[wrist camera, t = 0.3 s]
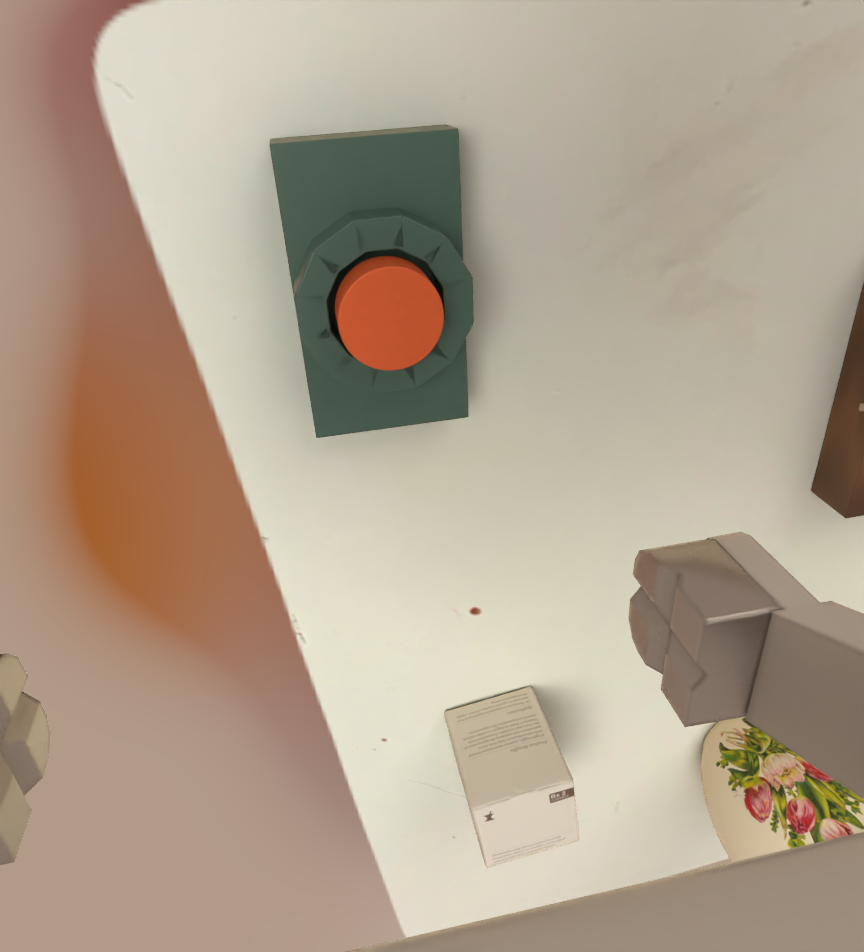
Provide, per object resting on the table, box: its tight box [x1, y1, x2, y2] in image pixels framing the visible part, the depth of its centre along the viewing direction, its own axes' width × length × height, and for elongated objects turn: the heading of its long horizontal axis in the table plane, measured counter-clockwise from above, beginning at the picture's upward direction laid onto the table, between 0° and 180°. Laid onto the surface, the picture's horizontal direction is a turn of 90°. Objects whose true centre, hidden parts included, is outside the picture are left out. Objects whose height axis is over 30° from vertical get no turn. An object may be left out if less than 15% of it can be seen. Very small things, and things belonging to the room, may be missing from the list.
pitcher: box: [701, 717, 864, 862], centre depth 47 cm, size 11×18×14 cm, turn 116°
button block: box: [270, 125, 474, 438], centre depth 29 cm, size 12×7×4 cm, turn 3°
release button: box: [335, 256, 444, 371], centre depth 27 cm, size 4×4×2 cm
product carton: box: [445, 687, 579, 868], centre depth 44 cm, size 6×6×7 cm
